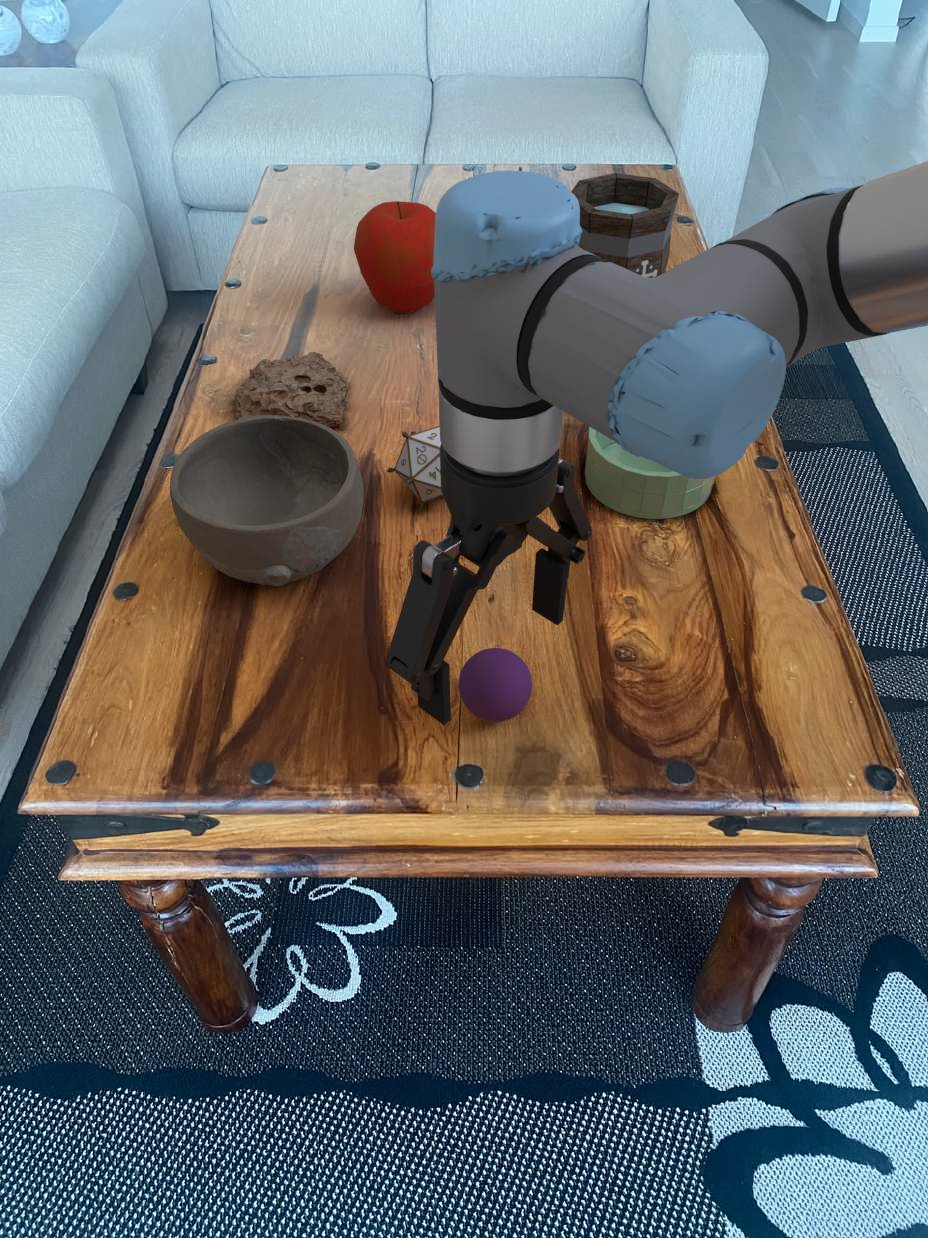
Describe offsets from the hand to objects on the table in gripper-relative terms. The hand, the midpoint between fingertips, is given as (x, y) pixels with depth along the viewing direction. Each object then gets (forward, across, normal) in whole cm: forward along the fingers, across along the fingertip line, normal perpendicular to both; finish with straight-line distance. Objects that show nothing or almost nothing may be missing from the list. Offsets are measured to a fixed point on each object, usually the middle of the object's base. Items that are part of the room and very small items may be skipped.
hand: (493, 662), depth 73 cm
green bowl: (+6, -34, -8) cm, 35 cm away
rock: (+6, -19, -48) cm, 52 cm away
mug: (+6, -58, -34) cm, 67 cm away
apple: (+6, -43, -53) cm, 68 cm away
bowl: (+6, -1, -29) cm, 29 cm away
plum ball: (+3, 0, 0) cm, 3 cm away
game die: (+6, -17, -23) cm, 29 cm away
